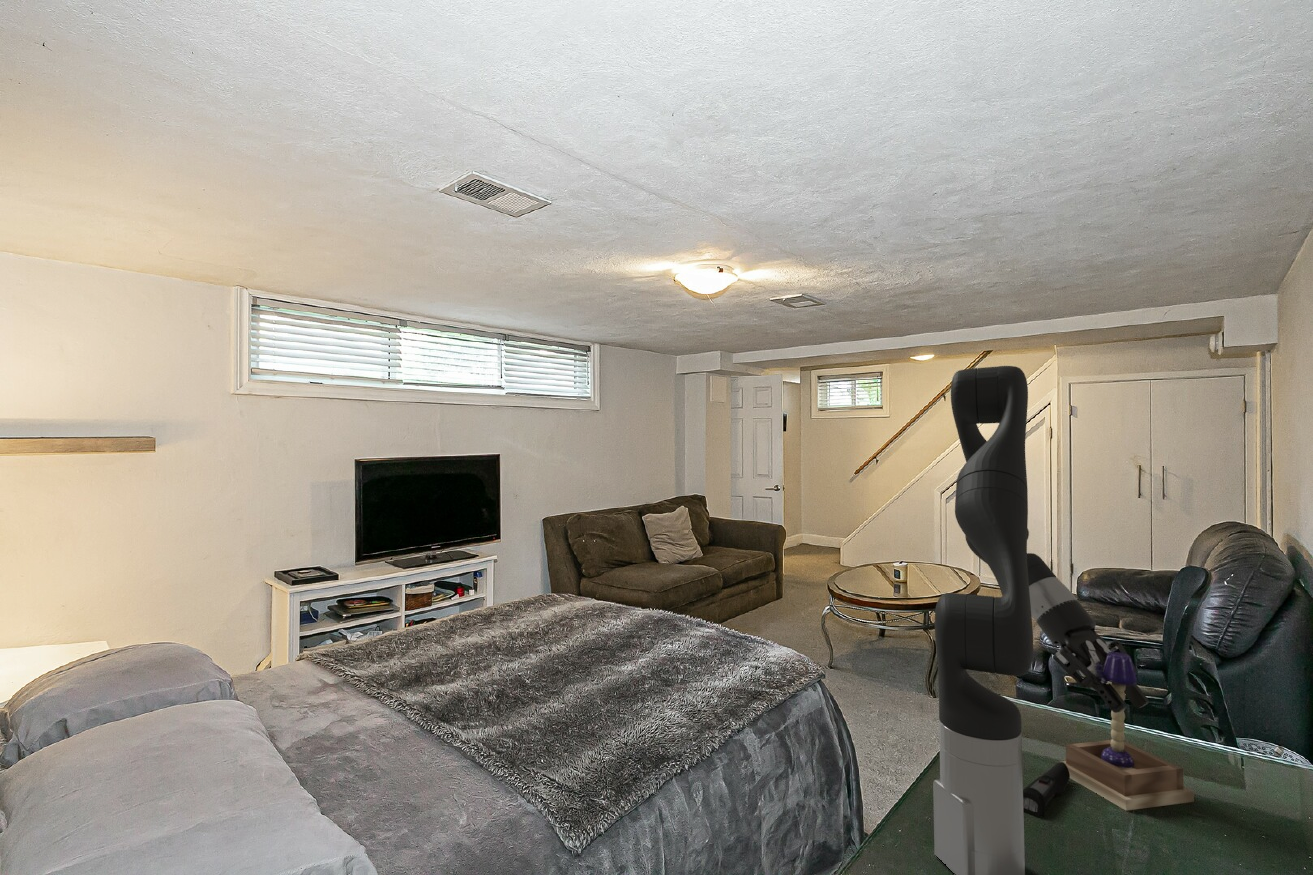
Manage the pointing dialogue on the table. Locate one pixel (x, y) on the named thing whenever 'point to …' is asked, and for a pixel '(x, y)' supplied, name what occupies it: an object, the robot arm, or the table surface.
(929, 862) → the table surface
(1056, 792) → the electric trimmer
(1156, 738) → the table surface
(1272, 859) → the table surface
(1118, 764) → the toy lamp
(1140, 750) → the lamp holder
